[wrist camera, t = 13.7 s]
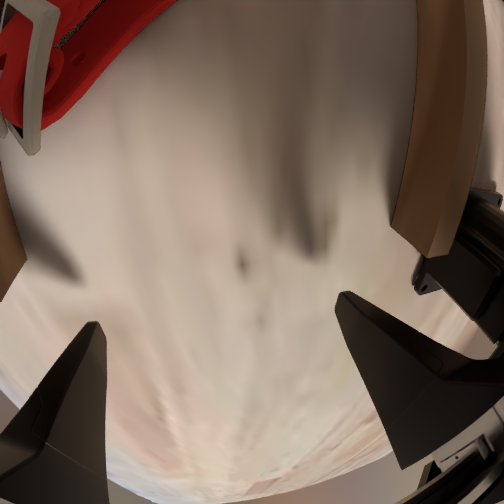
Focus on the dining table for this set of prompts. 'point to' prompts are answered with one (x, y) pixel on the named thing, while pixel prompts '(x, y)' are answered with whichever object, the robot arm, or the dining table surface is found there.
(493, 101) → the dining table surface
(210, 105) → the dining table surface
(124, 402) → the dining table surface
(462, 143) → the stall
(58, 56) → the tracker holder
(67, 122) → the dining table surface
